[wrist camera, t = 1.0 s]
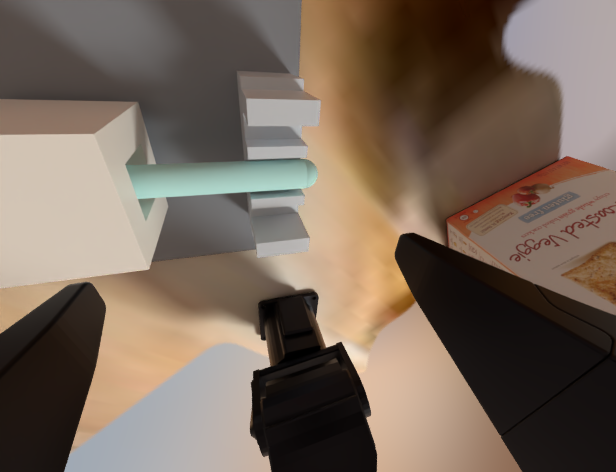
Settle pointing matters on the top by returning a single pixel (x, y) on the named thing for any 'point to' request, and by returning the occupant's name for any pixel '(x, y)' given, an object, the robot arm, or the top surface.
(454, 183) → the top surface
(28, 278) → the sleeve
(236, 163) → the pale teal rod
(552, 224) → the cracker box
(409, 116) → the top surface
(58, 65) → the board
